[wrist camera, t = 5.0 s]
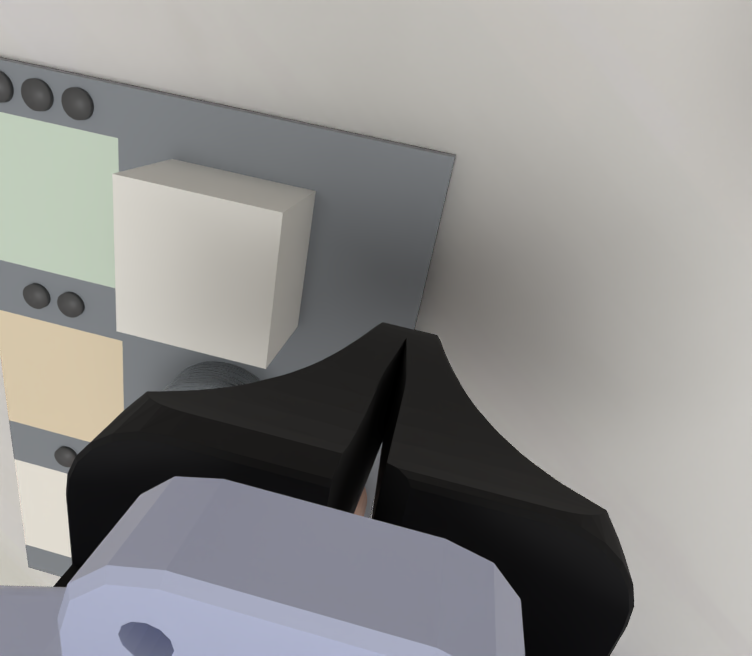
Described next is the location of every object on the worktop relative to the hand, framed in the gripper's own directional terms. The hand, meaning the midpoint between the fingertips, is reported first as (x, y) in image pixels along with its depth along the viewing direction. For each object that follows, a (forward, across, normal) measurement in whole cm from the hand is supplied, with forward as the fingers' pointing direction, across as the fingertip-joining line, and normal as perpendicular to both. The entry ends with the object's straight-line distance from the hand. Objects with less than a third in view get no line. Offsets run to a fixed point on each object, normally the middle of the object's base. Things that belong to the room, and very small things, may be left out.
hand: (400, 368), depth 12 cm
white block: (+5, +6, 0) cm, 8 cm away
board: (+6, +8, +7) cm, 12 cm away
